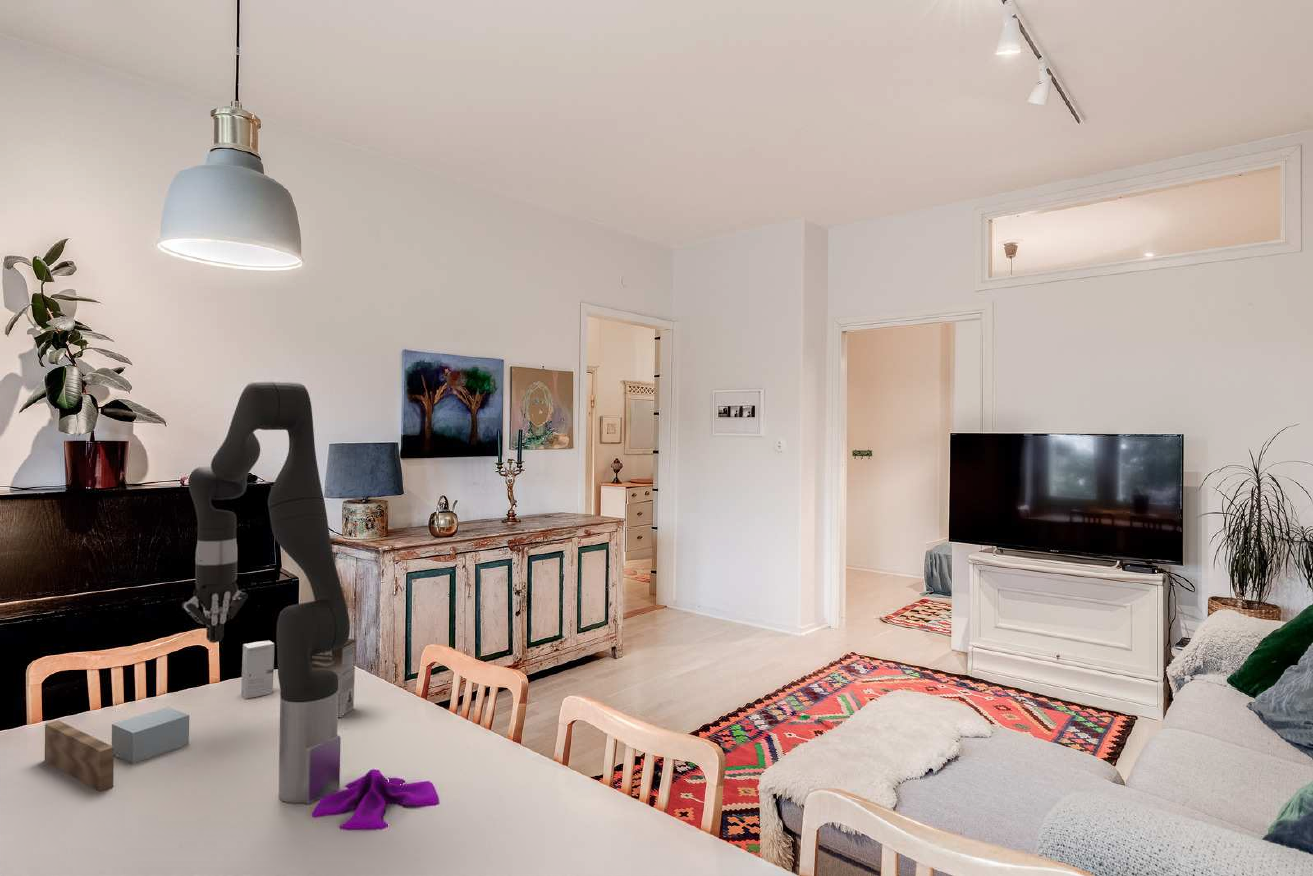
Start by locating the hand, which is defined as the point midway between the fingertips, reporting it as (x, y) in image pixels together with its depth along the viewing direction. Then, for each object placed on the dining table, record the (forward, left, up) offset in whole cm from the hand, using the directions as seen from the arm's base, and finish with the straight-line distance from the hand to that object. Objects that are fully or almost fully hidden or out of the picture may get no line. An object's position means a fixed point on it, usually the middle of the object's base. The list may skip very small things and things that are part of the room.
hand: (215, 641), depth 150 cm
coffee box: (-13, -18, -18) cm, 29 cm away
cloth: (-53, +2, -19) cm, 56 cm away
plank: (0, +24, -18) cm, 30 cm away
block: (0, +12, -18) cm, 22 cm away
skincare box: (+11, -16, -18) cm, 27 cm away
